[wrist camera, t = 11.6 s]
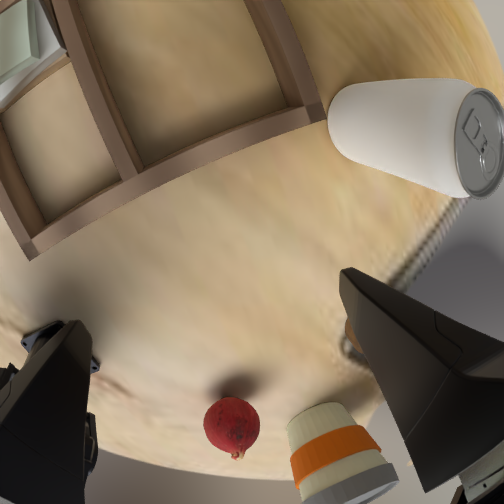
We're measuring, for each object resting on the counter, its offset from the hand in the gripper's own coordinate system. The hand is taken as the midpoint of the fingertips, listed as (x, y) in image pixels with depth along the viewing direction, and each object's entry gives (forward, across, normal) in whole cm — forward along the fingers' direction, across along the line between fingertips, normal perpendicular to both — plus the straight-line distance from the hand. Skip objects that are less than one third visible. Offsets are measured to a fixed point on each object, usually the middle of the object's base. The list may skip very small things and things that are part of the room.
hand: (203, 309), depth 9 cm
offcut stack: (+12, +11, -14) cm, 22 cm away
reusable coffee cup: (+11, -7, +35) cm, 37 cm away
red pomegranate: (+11, +4, +23) cm, 25 cm away
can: (+14, -12, -3) cm, 19 cm away
